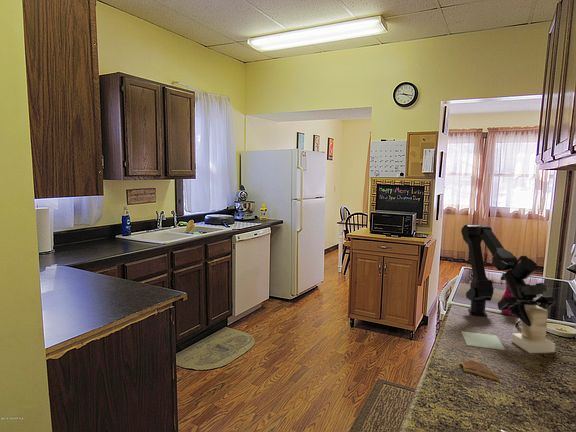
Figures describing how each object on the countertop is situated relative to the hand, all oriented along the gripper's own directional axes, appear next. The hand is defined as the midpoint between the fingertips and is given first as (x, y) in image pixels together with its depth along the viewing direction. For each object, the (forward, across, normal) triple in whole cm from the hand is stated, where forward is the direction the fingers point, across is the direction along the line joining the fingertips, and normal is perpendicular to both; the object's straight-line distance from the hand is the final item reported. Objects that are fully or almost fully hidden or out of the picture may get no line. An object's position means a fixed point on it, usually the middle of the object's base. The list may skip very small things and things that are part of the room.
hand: (537, 325), depth 129 cm
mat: (+1, -15, +11) cm, 18 cm away
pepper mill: (-18, +15, +30) cm, 38 cm away
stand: (+5, 0, +7) cm, 8 cm away
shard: (+15, -28, -2) cm, 32 cm away
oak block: (+3, 0, +5) cm, 5 cm away
